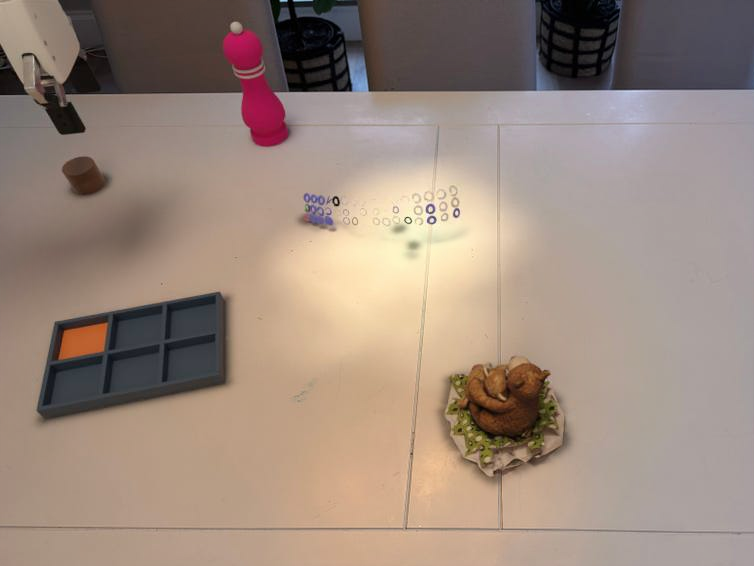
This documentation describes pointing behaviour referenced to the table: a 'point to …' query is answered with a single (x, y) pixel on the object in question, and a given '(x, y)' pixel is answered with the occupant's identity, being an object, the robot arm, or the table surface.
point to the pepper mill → (255, 87)
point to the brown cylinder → (83, 175)
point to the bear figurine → (504, 414)
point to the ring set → (329, 220)
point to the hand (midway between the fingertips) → (82, 111)
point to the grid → (134, 355)
